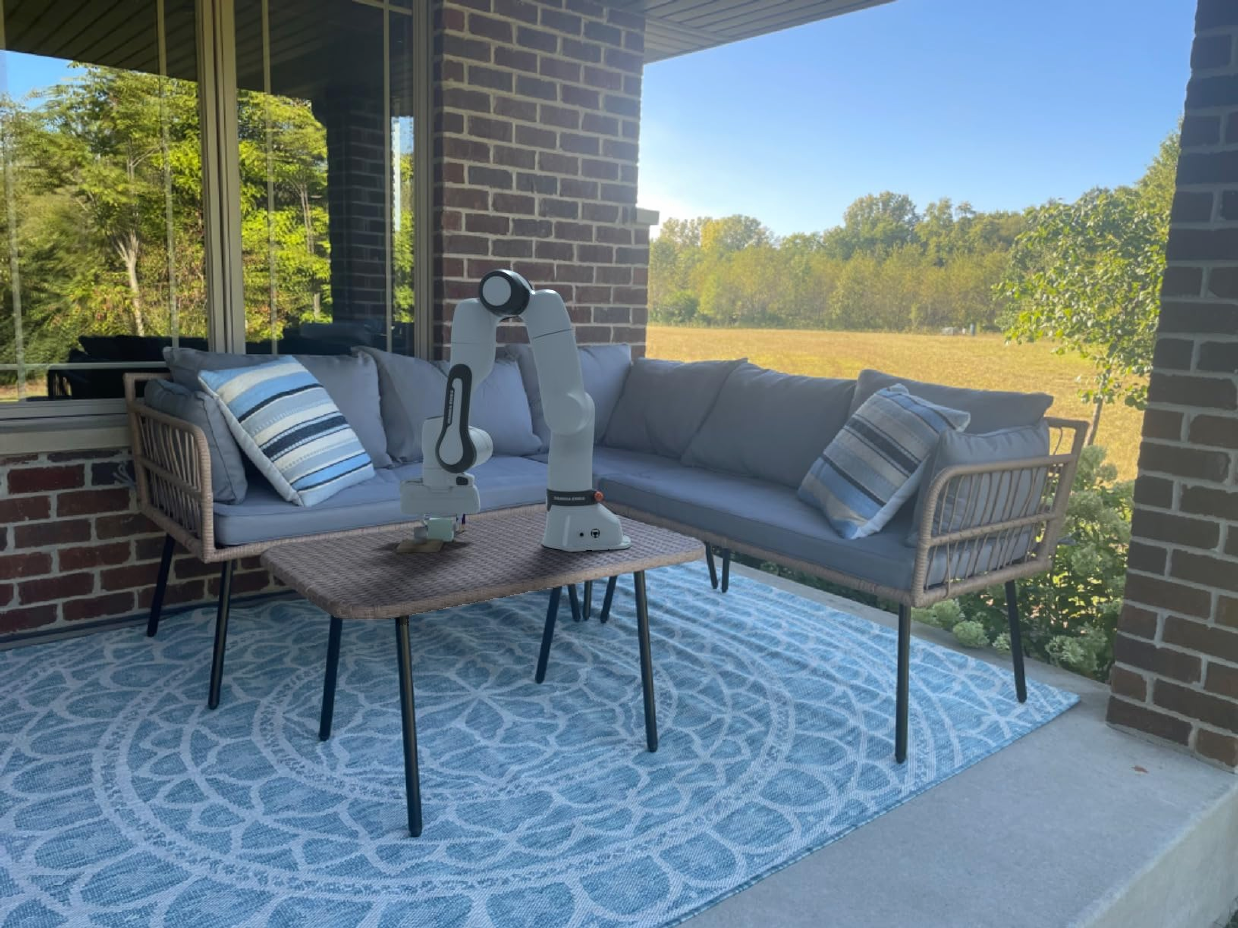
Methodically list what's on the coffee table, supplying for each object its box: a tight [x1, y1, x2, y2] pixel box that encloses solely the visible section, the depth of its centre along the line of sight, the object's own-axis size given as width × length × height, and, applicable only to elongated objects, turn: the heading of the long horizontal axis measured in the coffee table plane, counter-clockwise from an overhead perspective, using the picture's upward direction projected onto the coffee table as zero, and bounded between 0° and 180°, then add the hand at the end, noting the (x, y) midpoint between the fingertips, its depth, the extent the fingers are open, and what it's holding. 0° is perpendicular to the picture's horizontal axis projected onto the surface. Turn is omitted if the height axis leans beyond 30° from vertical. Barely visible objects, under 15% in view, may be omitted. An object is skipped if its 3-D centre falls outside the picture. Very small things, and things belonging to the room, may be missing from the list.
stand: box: [396, 526, 444, 553], centre depth 220 cm, size 10×10×5 cm
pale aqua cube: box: [427, 517, 455, 542], centre depth 230 cm, size 6×6×5 cm
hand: (440, 530), depth 230 cm, fingers closed on pale aqua cube, 6 cm apart
